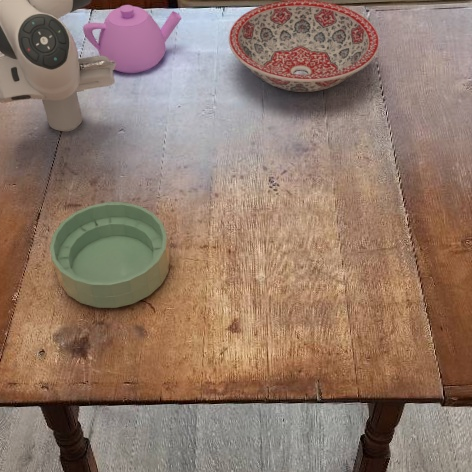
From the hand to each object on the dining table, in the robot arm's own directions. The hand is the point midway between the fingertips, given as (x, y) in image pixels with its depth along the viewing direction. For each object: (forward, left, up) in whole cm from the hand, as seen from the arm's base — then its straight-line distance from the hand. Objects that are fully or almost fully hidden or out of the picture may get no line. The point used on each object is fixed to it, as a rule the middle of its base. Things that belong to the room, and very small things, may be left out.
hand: (57, 90), depth 123 cm
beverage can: (0, -1, -7) cm, 7 cm away
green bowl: (+14, -38, -7) cm, 41 cm away
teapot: (+11, +22, -7) cm, 26 cm away
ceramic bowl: (+45, +16, -7) cm, 49 cm away
